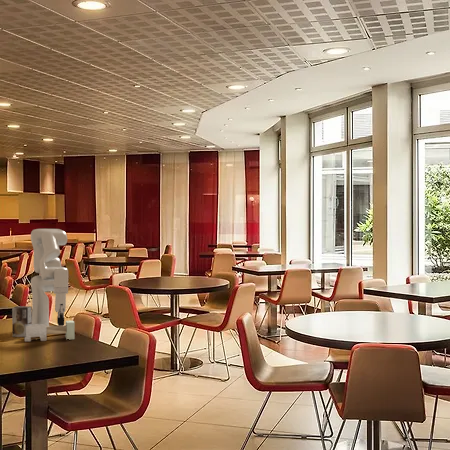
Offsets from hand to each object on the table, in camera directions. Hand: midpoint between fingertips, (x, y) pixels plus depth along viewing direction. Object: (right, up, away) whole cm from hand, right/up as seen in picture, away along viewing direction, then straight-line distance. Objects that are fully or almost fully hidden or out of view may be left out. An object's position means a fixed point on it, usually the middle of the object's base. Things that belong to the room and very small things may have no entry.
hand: (60, 324), depth 358 cm
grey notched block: (-12, -8, -4) cm, 15 cm away
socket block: (+5, -8, +1) cm, 9 cm away
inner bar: (-3, -5, -1) cm, 6 cm away
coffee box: (-24, -8, +9) cm, 27 cm away
